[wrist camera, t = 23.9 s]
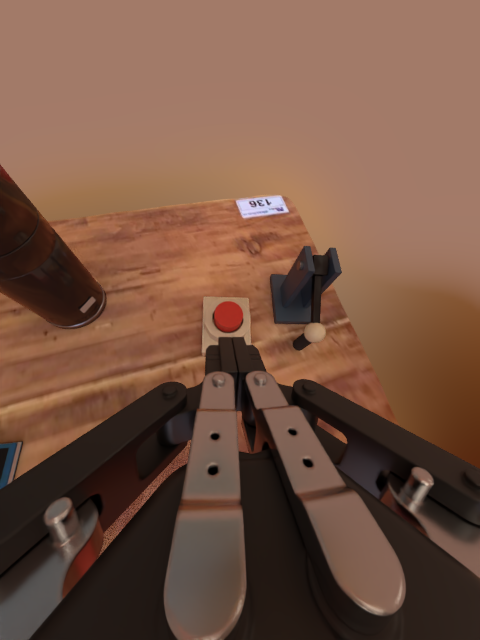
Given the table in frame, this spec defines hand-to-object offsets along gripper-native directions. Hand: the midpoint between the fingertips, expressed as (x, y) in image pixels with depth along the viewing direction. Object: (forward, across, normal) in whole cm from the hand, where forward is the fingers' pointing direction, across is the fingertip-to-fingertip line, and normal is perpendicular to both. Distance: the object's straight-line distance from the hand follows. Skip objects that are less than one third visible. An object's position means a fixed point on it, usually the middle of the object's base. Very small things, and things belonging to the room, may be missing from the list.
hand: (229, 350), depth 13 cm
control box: (+25, -2, +10) cm, 27 cm away
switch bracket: (+29, -15, +6) cm, 33 cm away
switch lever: (+21, -15, +3) cm, 26 cm away
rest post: (+23, -15, +12) cm, 30 cm away
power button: (+22, -2, +7) cm, 23 cm away
